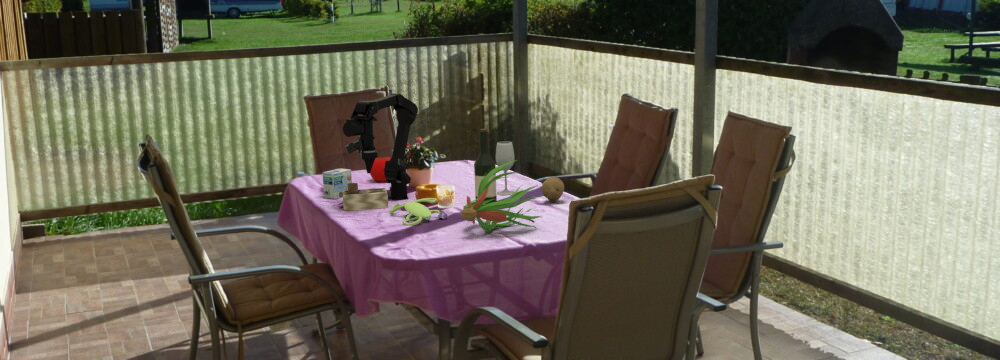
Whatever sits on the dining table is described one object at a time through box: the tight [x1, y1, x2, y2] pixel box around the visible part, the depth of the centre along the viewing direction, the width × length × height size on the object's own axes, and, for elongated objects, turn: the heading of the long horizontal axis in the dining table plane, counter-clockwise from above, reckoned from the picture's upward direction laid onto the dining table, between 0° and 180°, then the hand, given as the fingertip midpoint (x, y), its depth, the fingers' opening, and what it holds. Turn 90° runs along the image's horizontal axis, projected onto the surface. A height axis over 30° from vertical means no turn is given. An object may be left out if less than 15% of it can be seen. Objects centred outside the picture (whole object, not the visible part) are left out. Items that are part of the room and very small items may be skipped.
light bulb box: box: [322, 167, 353, 200], centre depth 440 cm, size 11×7×11 cm, turn 143°
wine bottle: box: [473, 128, 498, 206], centre depth 409 cm, size 8×8×30 cm
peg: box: [347, 182, 359, 193], centre depth 417 cm, size 4×4×6 cm
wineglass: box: [495, 141, 515, 196], centre depth 433 cm, size 8×8×21 cm
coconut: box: [540, 176, 565, 203], centre depth 414 cm, size 9×9×10 cm
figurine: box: [388, 197, 448, 226], centre depth 398 cm, size 18×27×6 cm
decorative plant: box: [460, 158, 542, 233], centre depth 372 cm, size 26×25×30 cm
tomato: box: [369, 155, 392, 183], centre depth 470 cm, size 12×13×11 cm
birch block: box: [342, 187, 389, 212], centre depth 418 cm, size 17×10×6 cm, turn 101°
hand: (368, 173), depth 416 cm, fingers closed
